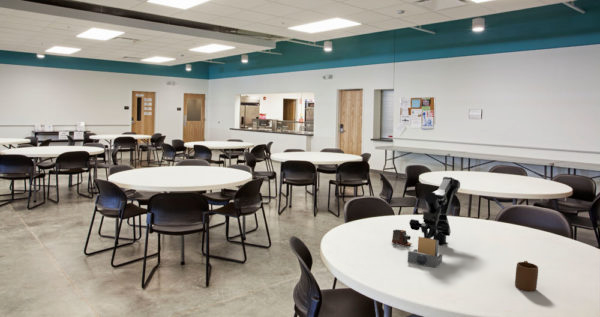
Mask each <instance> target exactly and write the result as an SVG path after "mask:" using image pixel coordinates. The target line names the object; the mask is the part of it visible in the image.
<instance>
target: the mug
mask: <svg viewBox="0 0 600 317" xmlns="http://www.w3.org/2000/svg"><path fill="white" fill-rule="evenodd" d="M515 267H516V268H515V279H514V287H516V288H517V289H518V288H519V289H518V290H521V291H524V292H530V291H531V292H535V291H536V290H537V286H538V279H539V278H538V277H539V267H538V265H536V264H534V263H531V262H528V260H523V261H519V262H517V263H516V266H515Z"/></svg>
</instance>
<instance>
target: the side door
mask: <svg viewBox="0 0 600 317" xmlns="http://www.w3.org/2000/svg"><path fill="white" fill-rule="evenodd" d="M417 239H418V240H417V252H419V253H424V254H428V255H433V256H437V257H438V256H439V245H438V242H439V240H434V239H433V238H431V239H429V238H424V236H418V238H417Z"/></svg>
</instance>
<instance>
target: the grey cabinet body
mask: <svg viewBox="0 0 600 317" xmlns="http://www.w3.org/2000/svg"><path fill="white" fill-rule="evenodd" d="M442 261H443V254H439V253H438V257H437V256H433V255H428V254H424V253H419V252H418V248H417V249H416V248H415V249H413V250H407V262H408V263H412V264H417V265H419V266H420V265H421V266H426V267H430V268H435V269H436V268H438V266H440V264H441V263H442Z"/></svg>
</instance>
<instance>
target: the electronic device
mask: <svg viewBox="0 0 600 317" xmlns="http://www.w3.org/2000/svg"><path fill="white" fill-rule="evenodd" d="M411 238H412V237H411V235H408V234H407V231H406V230H405V229H394V230H392V240H391V244H396V245H399V246H403V247H405V248H409V247H411V245H413V243H412V242H409V241H410V240H411Z"/></svg>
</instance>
